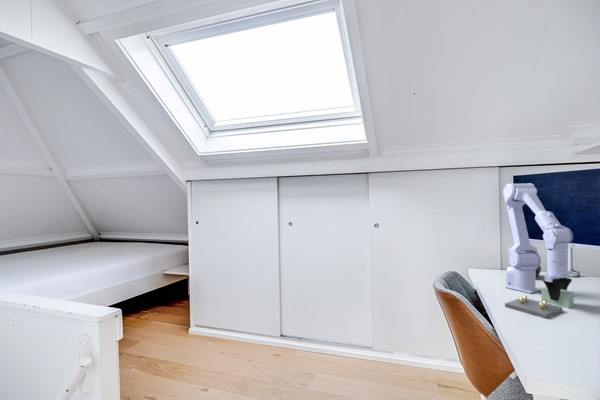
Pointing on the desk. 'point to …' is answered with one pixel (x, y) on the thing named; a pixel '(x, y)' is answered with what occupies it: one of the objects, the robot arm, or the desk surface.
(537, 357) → the desk surface
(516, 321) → the desk surface
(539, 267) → the end cap
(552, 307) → the plate
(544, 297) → the board block
